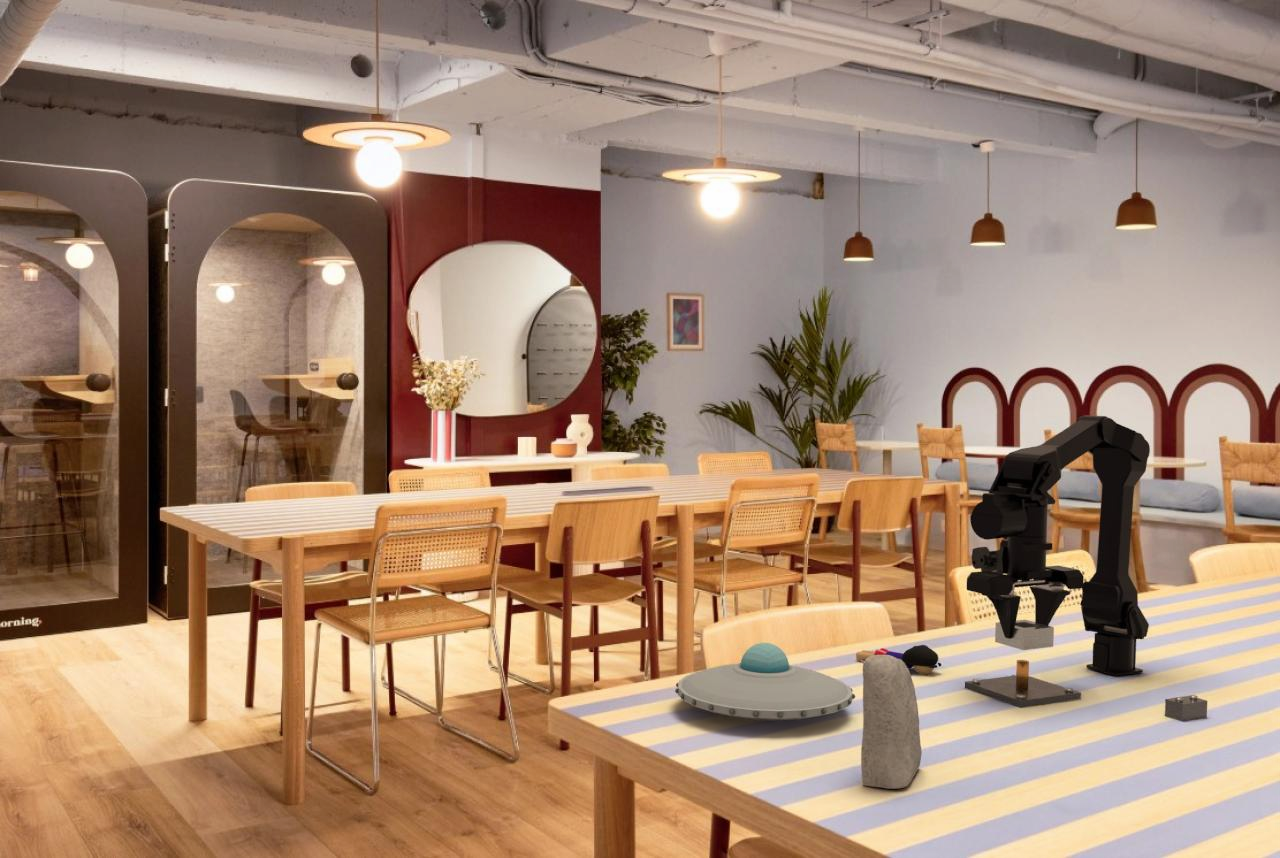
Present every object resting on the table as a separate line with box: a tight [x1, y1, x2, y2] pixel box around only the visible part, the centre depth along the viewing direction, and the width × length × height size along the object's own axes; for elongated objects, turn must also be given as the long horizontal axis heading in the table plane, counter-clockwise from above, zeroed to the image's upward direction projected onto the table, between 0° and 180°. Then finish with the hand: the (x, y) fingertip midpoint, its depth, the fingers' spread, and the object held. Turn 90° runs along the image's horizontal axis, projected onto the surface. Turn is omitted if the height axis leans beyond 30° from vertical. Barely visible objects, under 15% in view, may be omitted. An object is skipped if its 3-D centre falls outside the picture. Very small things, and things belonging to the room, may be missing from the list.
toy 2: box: [855, 644, 942, 675], centre depth 201 cm, size 10×5×15 cm
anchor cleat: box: [1164, 694, 1208, 722], centre depth 174 cm, size 5×3×3 cm, turn 116°
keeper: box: [964, 659, 1082, 708], centre depth 186 cm, size 12×12×5 cm
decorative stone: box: [860, 655, 922, 790], centre depth 146 cm, size 11×6×15 cm, turn 150°
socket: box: [994, 619, 1055, 651], centre depth 185 cm, size 6×6×3 cm
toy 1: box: [674, 642, 856, 721], centre depth 173 cm, size 26×26×10 cm
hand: (1024, 636), depth 185 cm, fingers closed on socket, 6 cm apart
